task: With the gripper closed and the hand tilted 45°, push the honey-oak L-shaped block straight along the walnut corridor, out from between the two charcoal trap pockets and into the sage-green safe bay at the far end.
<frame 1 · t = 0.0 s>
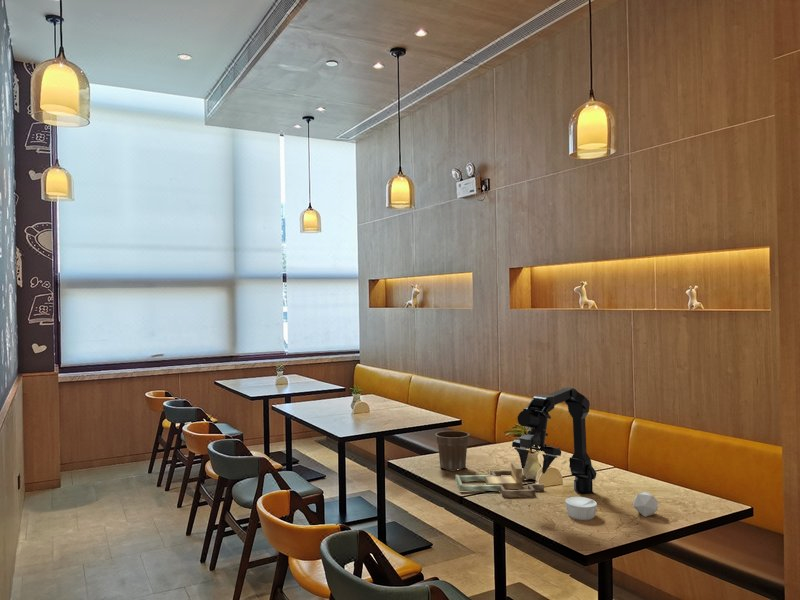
hand: (533, 470, 225), 15 cm above the table, tool pointing down, fingers open, 9 cm apart
plant pot: (452, 467, 286), on the table
ramekin: (581, 516, 220), on the table
oak block: (503, 486, 257), resting in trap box
die: (645, 514, 221), on the table
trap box: (493, 486, 257), on the table
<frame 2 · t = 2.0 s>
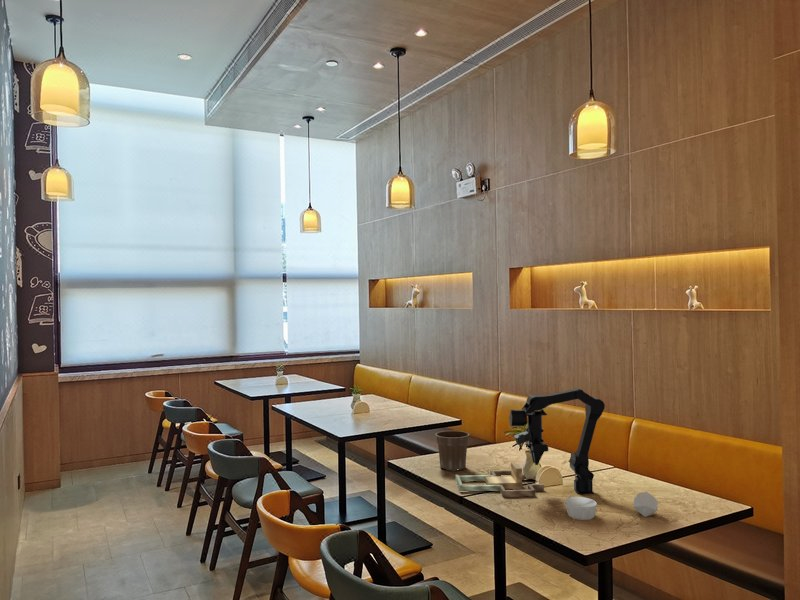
hand: (535, 463, 247), 12 cm above the table, tool pointing down, fingers open, 3 cm apart
nothing on the table moved.
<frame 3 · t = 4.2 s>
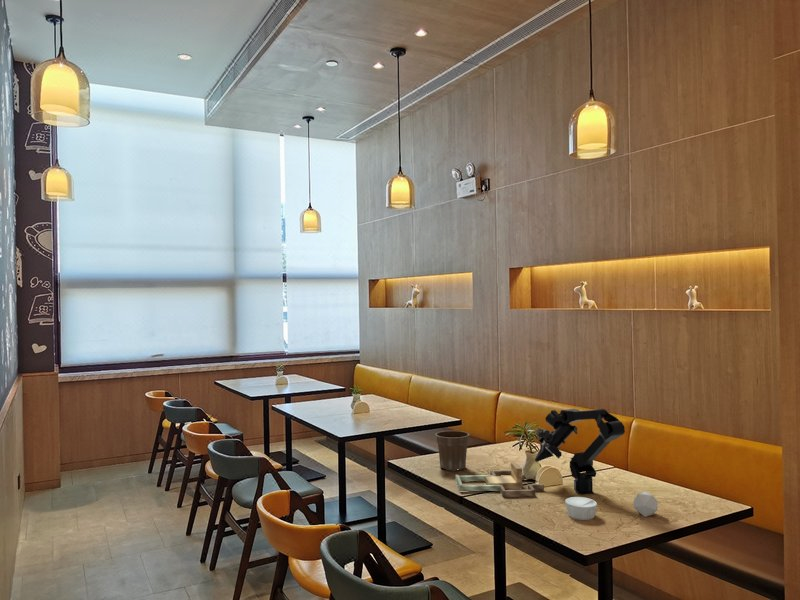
hand: (535, 460, 257), 11 cm above the table, tool tilted 45°, fingers closed
nothing on the table moved.
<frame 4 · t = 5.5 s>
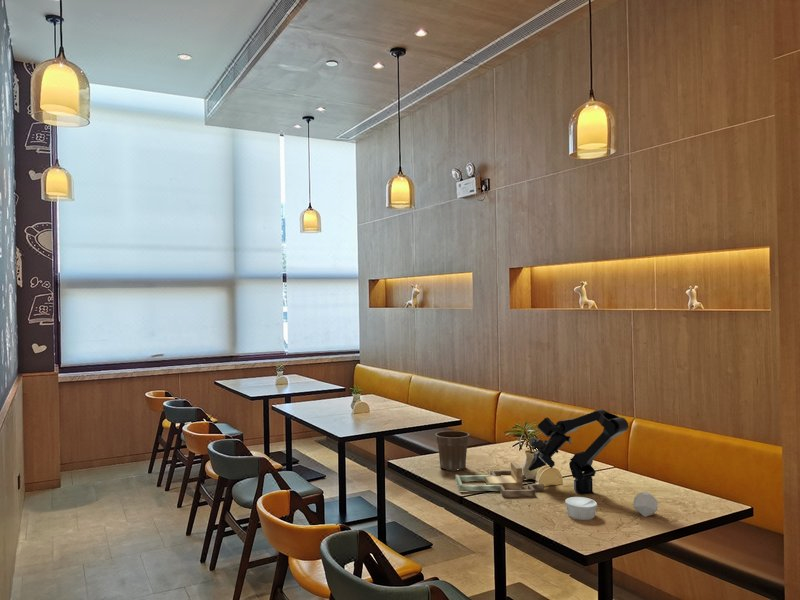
hand: (528, 470, 257), 7 cm above the table, tool tilted 45°, fingers closed
nothing on the table moved.
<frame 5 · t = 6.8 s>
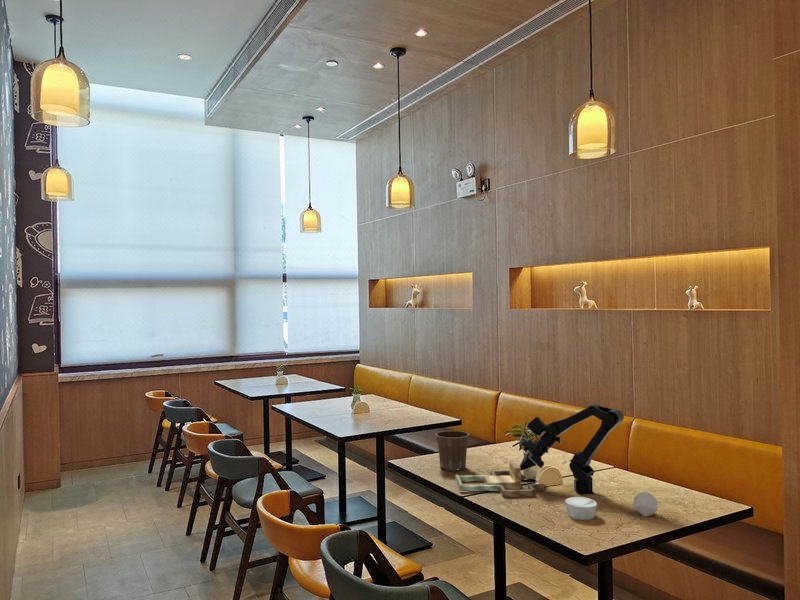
hand: (518, 470, 257), 7 cm above the table, tool tilted 45°, fingers closed
nothing on the table moved.
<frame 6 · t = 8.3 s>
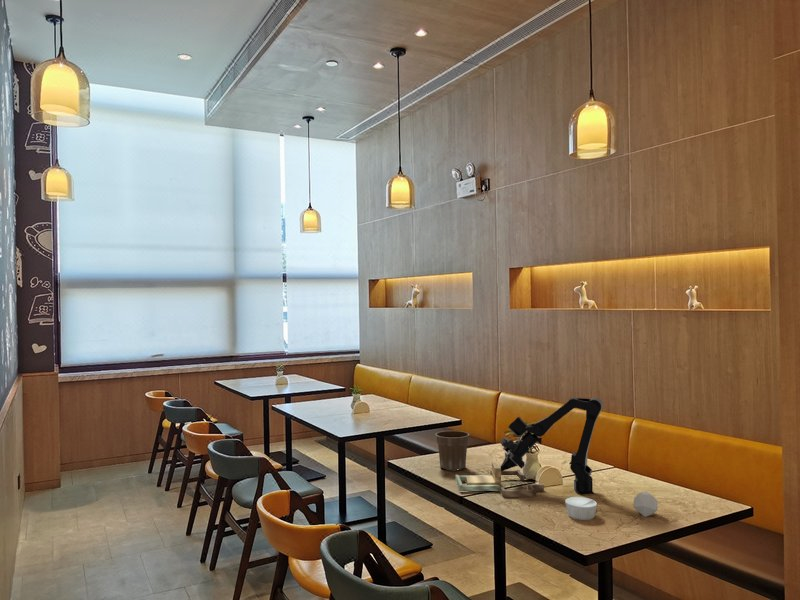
hand: (500, 470, 257), 7 cm above the table, tool tilted 45°, fingers closed, pressing on oak block
oak block: (483, 486, 257), resting in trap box, touching gripper
everything else where it was.
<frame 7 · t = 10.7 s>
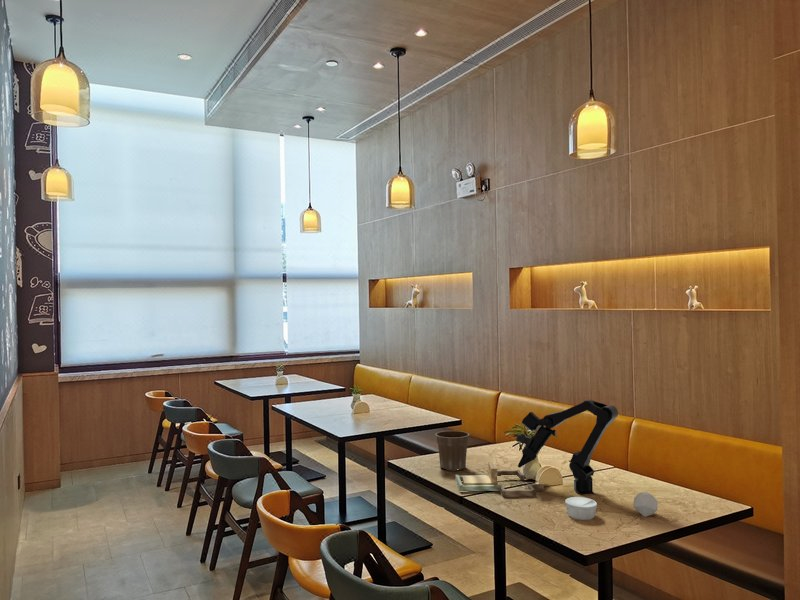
hand: (518, 466, 259), 7 cm above the table, tool tilted 40°, fingers closed
oak block: (479, 486, 257), resting in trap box
everything else where it was.
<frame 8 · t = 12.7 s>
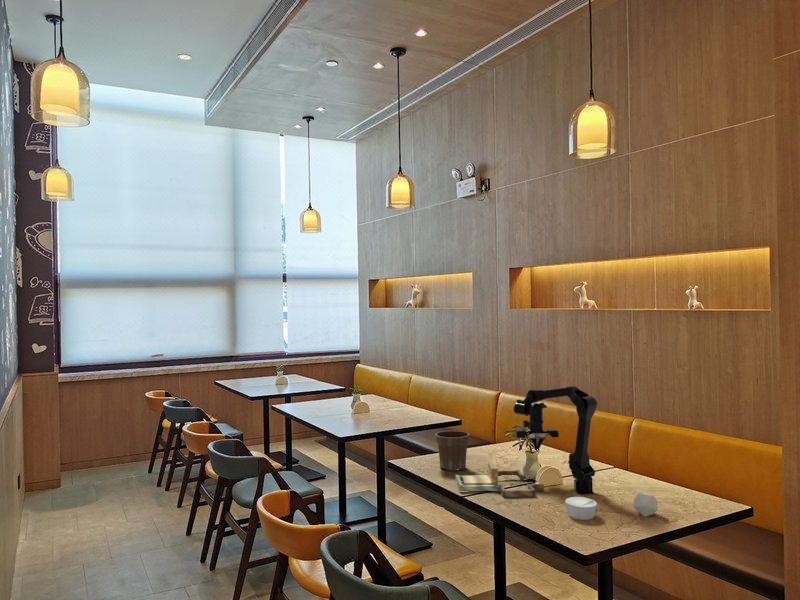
hand: (536, 452, 265), 12 cm above the table, tool pointing down, fingers closed
nothing on the table moved.
at the end: oak block inside the target area (1.9 cm from its centre), resting in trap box; oak block tilted 0° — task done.
